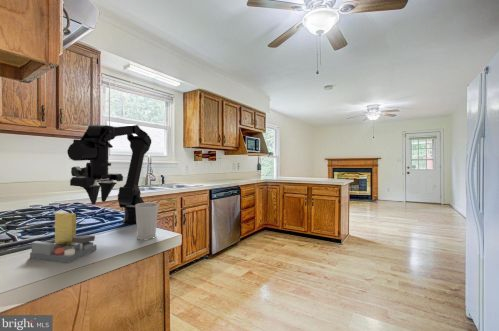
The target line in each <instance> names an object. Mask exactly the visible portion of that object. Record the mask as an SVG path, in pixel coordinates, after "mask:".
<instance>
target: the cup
mask: <svg viewBox="0 0 499 331" xmlns="http://www.w3.org/2000/svg"><path fill="white" fill-rule="evenodd" d="M159 207H160V204H159V203H157V202H144V203H139V204H136V205H135V209H136V222H135V223H136V239H137V240H139V239H140V240H141V241H144V240H143V239H150V238H153V237H155V236H157V234H156V232H157V224H158V214H159ZM155 238H156V237H155ZM153 239H154V238H153ZM150 240H151V239H150Z"/></svg>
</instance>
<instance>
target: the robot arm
mask: <svg viewBox="0 0 499 331" xmlns="http://www.w3.org/2000/svg"><path fill="white" fill-rule="evenodd" d="M125 135H126V139H127V141H128V142H129V144H130V145H129V147H130V149H131V159H130V162H129V168H128V173H127V176H126V182H125V184H124V185H123V186H120V187H119V189H118V193H117V201H118V205H119V208H121V209H122V208H124V211H123V212H124V216H123V217H124V218H122V219H123V221H122V224H132V223H136V209H135V205H136V204H139V203H145V201H144V200H143V198H142V197H141V190H140V187H139V182H140V177H141V172H142V167H143V163H144V158H145V155H146V154H147V153H148V152H149V151H150V148H151V145H152V138H151V137H150V135H149V134H148V133H147V132H146V131H144V130H143V129H142V128H140V126H139V125H138V124H135V123H134V124H133V123H132V124H129V123H128V124H122V125H114V126H113V125H107V124H106V125H104V124H89V125H88V127H87V129H86V131H85V132H84V133H83V135H82V136H81V138H80V139H73V140H72V142H73V143H71V144H70V145H69V147H68V149H67V155H68V157H69V159H71V160H72V161H74V162H75V161H76V162H77V161H78V162H79V161H82V162H83V161H89V162H86V165H85V166H84V167H80V166H73V167H71V169H70V170H71V171H70V173H71V176H72V177H71V178H70V180H69V186H70V187H80V188H83V189H84V191H86V193H87V196H88V199H90V200H89V201H90V203H91V205H96V204H97V201H98V196H99V193H100V198H101V202H102V203H105V202H106V201H107V199H108V198H109V195H110V194H111V191H112V190H113V188H114V187H115V185H117V182H123V181H124V176H123V174H122V173H113V172H110V173H109V167H111V166H112V162H109V148H110V149H111V148H112V149H113V145H112V144H111V143H110V141H111V140H114V139H115V138H116V137H121V136H125ZM114 181H115V182H114ZM99 191H100V192H99Z"/></svg>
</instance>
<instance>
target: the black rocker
mask: <svg viewBox="0 0 499 331" xmlns="http://www.w3.org/2000/svg"><path fill="white" fill-rule="evenodd" d="M95 239H96V237H95V235H90V234H89V235H88V234H86V235H85V234H84V235H80V236H79V235H78V236H76V237H73V238H72V242H73V243H86V242H94V241H95Z"/></svg>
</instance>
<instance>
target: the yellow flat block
mask: <svg viewBox="0 0 499 331" xmlns="http://www.w3.org/2000/svg"><path fill="white" fill-rule="evenodd" d="M73 237H77V214H76V213H72V212H61V211H59V212H56V213H54V243H56V244H60V245H74V244H76V243H73V242H72V238H73Z"/></svg>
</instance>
